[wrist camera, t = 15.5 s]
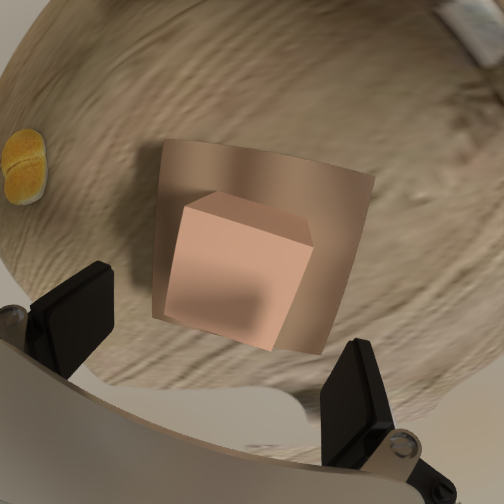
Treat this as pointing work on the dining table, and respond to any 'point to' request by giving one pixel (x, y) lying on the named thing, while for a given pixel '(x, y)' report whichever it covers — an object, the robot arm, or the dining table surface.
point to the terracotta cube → (237, 268)
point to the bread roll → (24, 167)
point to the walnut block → (275, 196)
